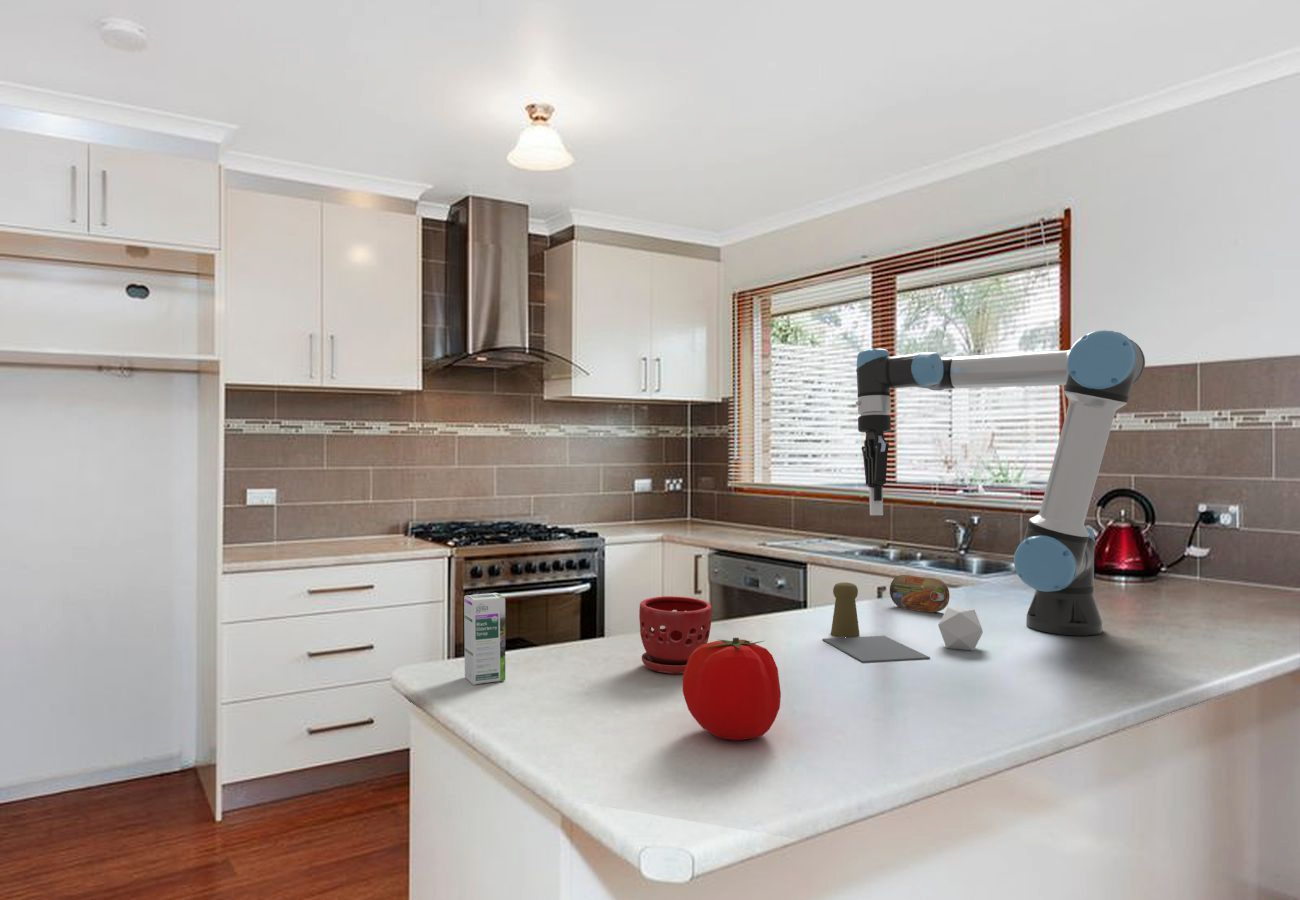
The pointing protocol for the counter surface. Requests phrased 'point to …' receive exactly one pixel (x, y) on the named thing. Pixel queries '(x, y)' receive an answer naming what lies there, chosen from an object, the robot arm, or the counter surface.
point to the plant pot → (673, 631)
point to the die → (960, 628)
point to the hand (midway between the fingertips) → (876, 515)
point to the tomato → (732, 688)
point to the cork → (845, 611)
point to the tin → (919, 593)
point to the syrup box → (484, 638)
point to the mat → (875, 649)
